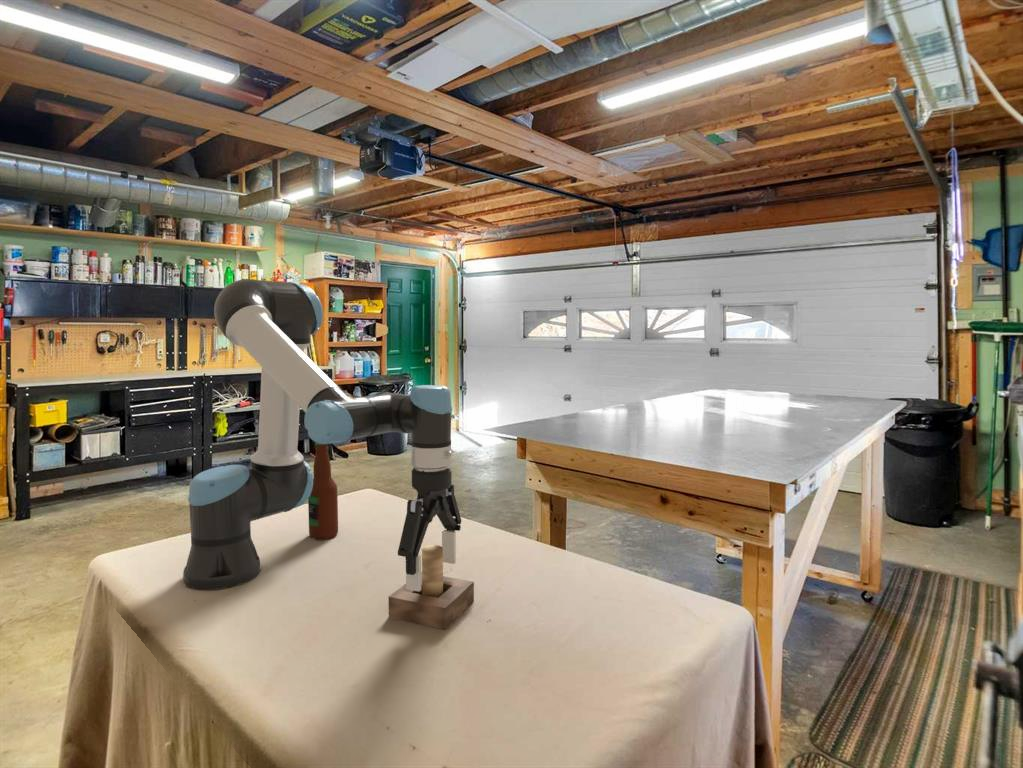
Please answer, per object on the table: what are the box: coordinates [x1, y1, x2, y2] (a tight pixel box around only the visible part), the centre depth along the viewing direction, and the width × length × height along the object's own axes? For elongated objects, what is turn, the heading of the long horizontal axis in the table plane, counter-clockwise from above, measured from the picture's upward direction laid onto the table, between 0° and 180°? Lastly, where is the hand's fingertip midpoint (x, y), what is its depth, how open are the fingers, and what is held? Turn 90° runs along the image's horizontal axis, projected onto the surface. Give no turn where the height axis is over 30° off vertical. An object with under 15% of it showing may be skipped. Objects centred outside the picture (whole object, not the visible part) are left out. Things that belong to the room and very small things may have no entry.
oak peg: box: [421, 544, 444, 598], centre depth 112 cm, size 4×4×12 cm
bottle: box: [307, 442, 339, 541], centre depth 151 cm, size 7×7×25 cm
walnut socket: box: [388, 571, 475, 630], centre depth 112 cm, size 12×12×4 cm
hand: (432, 575), depth 112 cm, fingers open, 13 cm apart
